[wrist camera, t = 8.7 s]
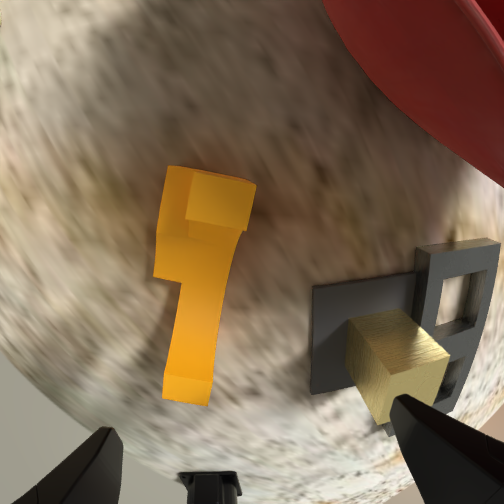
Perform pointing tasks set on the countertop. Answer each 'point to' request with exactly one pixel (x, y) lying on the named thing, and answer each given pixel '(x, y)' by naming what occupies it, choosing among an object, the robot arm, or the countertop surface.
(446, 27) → the mixing bowl
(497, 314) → the countertop surface
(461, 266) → the gray slotted plate
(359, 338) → the pale yellow block
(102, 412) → the countertop surface
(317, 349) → the mat
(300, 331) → the countertop surface
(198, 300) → the pipe clamp
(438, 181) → the countertop surface
